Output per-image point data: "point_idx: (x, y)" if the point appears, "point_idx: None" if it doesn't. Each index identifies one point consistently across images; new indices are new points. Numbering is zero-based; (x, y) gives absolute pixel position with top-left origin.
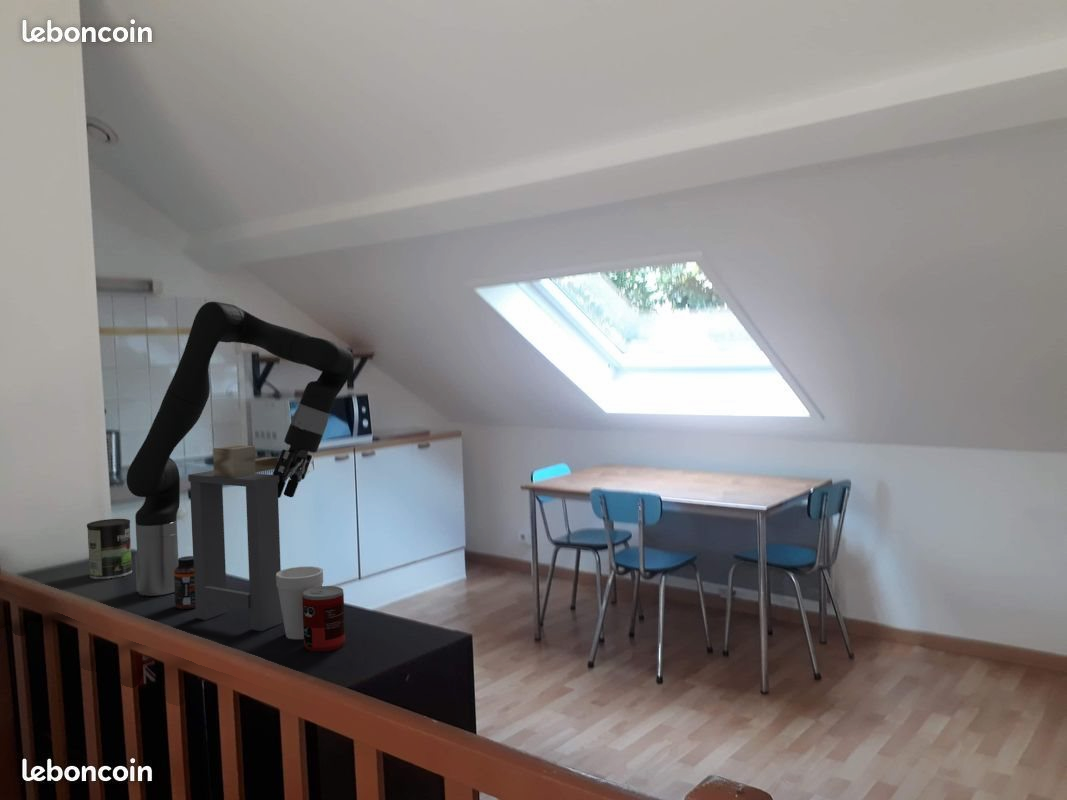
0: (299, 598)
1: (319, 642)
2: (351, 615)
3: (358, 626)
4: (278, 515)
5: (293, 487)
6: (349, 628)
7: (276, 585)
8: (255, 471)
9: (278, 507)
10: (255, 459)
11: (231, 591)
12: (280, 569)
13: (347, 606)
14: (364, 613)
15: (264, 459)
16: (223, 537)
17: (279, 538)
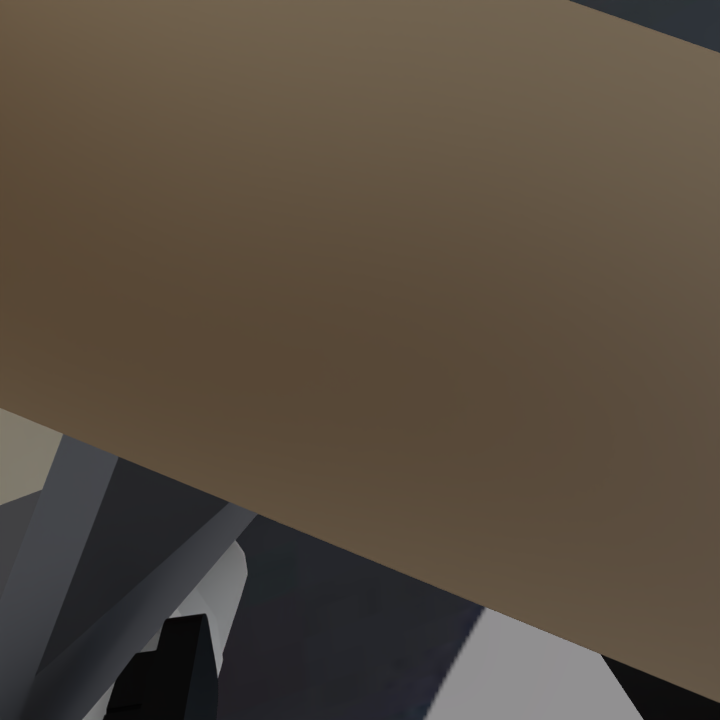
0: None
1: None
2: (385, 661)
3: (283, 716)
4: (139, 649)
5: (660, 717)
6: (263, 694)
7: None
8: (10, 498)
9: (105, 691)
10: (590, 199)
11: None
12: (252, 518)
13: (476, 617)
14: (408, 697)
15: (603, 615)
16: None
17: (204, 574)
